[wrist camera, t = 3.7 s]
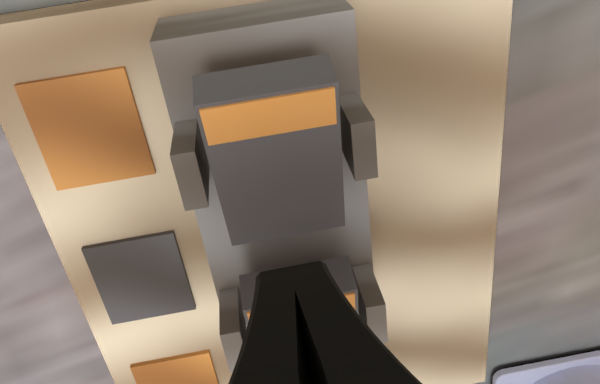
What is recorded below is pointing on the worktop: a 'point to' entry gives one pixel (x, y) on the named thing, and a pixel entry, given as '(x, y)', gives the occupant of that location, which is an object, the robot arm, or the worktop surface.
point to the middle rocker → (336, 266)
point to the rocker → (274, 146)
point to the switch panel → (405, 202)
